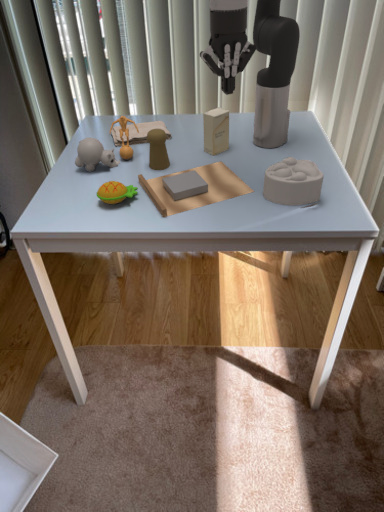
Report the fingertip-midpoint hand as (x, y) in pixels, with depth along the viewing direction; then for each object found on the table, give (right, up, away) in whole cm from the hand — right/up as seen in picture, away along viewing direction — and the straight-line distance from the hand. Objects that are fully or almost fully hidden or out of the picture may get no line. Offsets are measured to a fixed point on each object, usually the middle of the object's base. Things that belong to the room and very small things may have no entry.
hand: (228, 93), depth 93 cm
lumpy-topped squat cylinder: (+16, -22, +8) cm, 29 cm away
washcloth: (-24, +1, +39) cm, 46 cm away
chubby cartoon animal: (-34, -12, +23) cm, 43 cm away
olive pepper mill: (-17, -13, +22) cm, 30 cm away
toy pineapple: (-26, -23, +10) cm, 37 cm away
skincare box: (-1, -7, +28) cm, 28 cm away
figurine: (-27, -8, +28) cm, 40 cm away
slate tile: (-6, -18, +11) cm, 22 cm away
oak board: (-7, -20, +12) cm, 24 cm away
